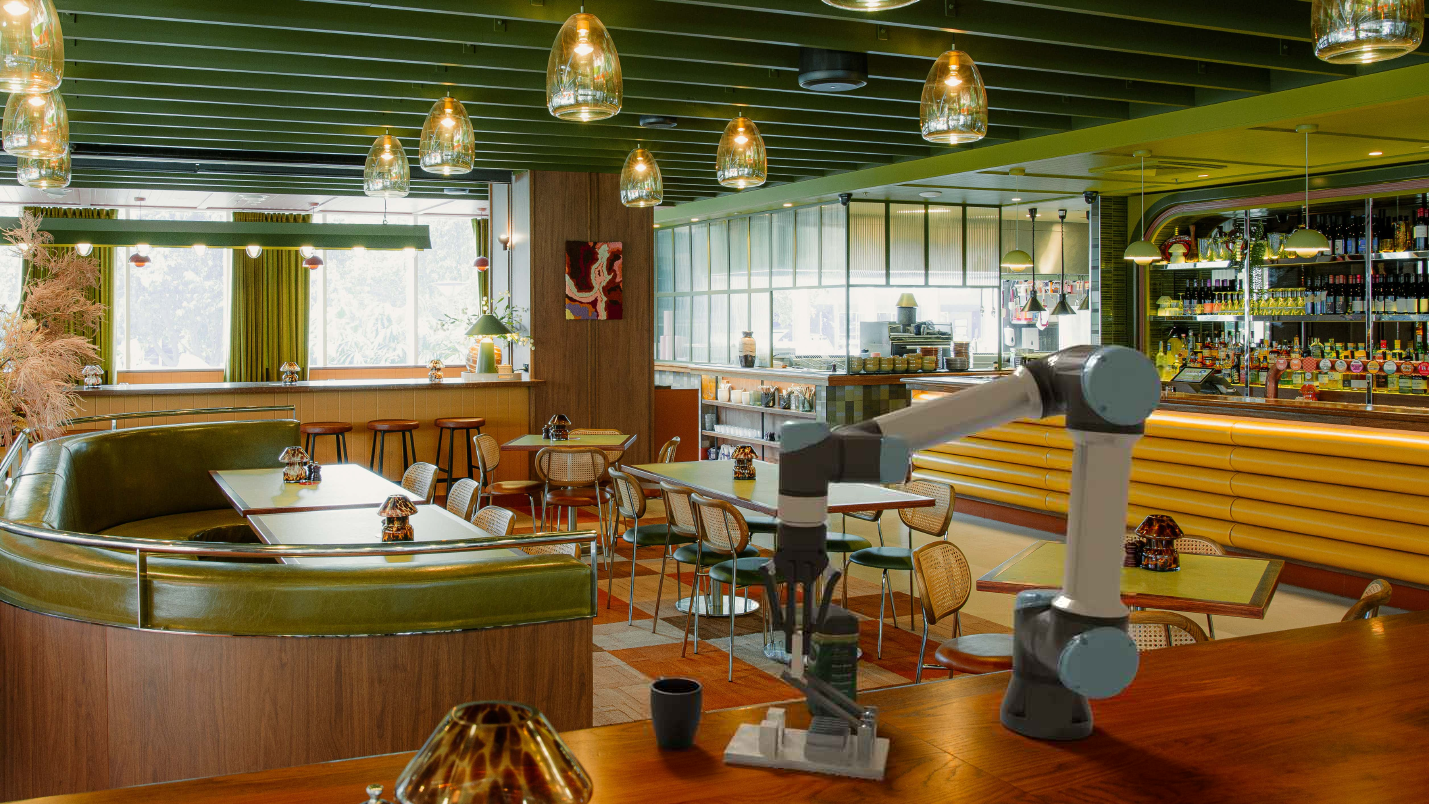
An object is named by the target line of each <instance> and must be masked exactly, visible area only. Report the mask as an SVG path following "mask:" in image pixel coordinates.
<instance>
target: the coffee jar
mask: <svg viewBox="0 0 1429 804" xmlns="http://www.w3.org/2000/svg"><path fill="white" fill-rule="evenodd" d="M820 605H821V604H816V605H815V606H813V623H815V622H816V619H817V616H818V612H819V609H820ZM859 622H860V620H859V617H858V616H856V615H855V614H854V613H852V612H851V611H849V610H847V609H846V608H843V607H841V606H839V605H838V604H833V603H832V604H830V606H829V610H828V613H827V617H826V621H825V624H824V627H823V629H822V630H821V632H815V633H813V634H812V643H811V652H810V654H809V656H808V659H807V660H808V661H807V670H808V671H810V672H811V673H813V674H814V675H816V676H817V677H819V678H820V679H822V680H823V681H825V682H826V683H827V684H829V685H830V686H832V687H833V688H835V689H836V690H838V691H839V692H841V693H842V694H844V695H845V696H847V697H848V698H850V699H851V700H853V701H854V702H856V703H857V702H858V701H857V700H858V699H857V698H858V695H857V694H858V693H857V692H858V688H857V687H858V680H857V679H858V647H859V646H858V645H859V637H860V623H859ZM806 685H808V686H809V687H810V688H812V689H813V690H815V691H816V692H818V693H819V694H821V695H822V696H824V697H825V698H827V699H828V700H830V701H831V702H833V703H834V704H836V705H837V706H838V707H840V708H841V709H843V710H844V711H846V712H847V713H849V714H850V715H852V716H853V717H855V718H856V715H857V713H855V712H854V711H852V710H851V709H849V708H848V707H846V706H845V705H843V704H842V703H840V702H839V701H837V700H836V699H835V698H833V697H832V696H830V695H829V694H827V693H826V692H824V691H823V690H821V689H820V688H818V687H817V686H815V685H814V684H812V683H811V682H809V681H808V680H807V679H806ZM805 696H806V695H805ZM857 704H858V703H857ZM805 705H806V708H807V709H808V711H809V712H810V713H811V714H812V715H813V717H814V716H817V717H827V718H837V719H840V718H839V717H837V716H836V715H834V714H833V713H831V712H830V711H828V710H827V709H826V708H824V707H823V706H821V705H820V704H818V703H817V702H815V701H814V700H812V699H811V698H809V697H808V696H806V697H805Z"/></svg>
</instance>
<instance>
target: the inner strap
mask: <svg viewBox="0 0 1429 804" xmlns="http://www.w3.org/2000/svg"><path fill="white" fill-rule="evenodd" d="M785 666H786V667H787V668H789V669H790V670H791V668H792V658H789V660H788V662H787V664H786V665H785ZM801 678H804V679H805V680H806V681H807V680H808V681H809V682H811V683H812V684H814V685H815V686H817V687H818V688H820V689H821V690H823V691H824V692H826V693H827V694H829V695H830V696H832V697H833V698H835V699H836V700H837V701H839V702H840V703H842V704H843V705H845V706H846V707H848V708H849V709H851V710H852V711H854V712H855V713H856V715H858V716H859V717H861V718H862V713H866V714H875V712H874V711H873V710H871V709H868V710H866V709H864V706H861V704H859V703H856V702H854V701H853V700H851V699H850V698H848V697H847V696H845V695H844V694H842V693H841V692H839V691H838V690H836V689H835V688H833V687H832V686H830V685H829V684H827V683H826V682H825V681H823V680H822V679H820V678H819V677H817V676H816V675H814V674H813V673H811V672H810V671H808V668H805V667H804V673H803V675H802V677H801Z"/></svg>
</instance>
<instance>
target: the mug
mask: <svg viewBox="0 0 1429 804" xmlns="http://www.w3.org/2000/svg"><path fill="white" fill-rule="evenodd" d="M649 695H650V699H649V701H650V703H649V704H650V705H649V706H650V716H651V721H652V726H653V730H654V734H655V737H656V742H657V746H658V747H659V748H660V749H662V750H666V751H672V752H679V751H685V750H689V749H690V748H692V747H693V745H694V741H695V738H696V735H697V732H698V729H699V724H700V720H701V715H702V708H703V685H702V683H701V682H700V681H697V680H696V679H690V678H685V677H667V676H665V675H659V676H658V677H657V680H655V681H653V682H652V683H651V684H650V694H649Z"/></svg>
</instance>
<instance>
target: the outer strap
mask: <svg viewBox="0 0 1429 804" xmlns="http://www.w3.org/2000/svg"><path fill="white" fill-rule="evenodd" d="M779 678H780V679H781V680H783V681H785V682H786V683H787V684H789V685H790V686H792V687H793V688H795V689H796V690H798V691H799V692H801V693H802V694H803V695H805V696H808V697H809V698H811V699H812V700H814V701H815V702H817V703H818V704H820V705H821V706H823V707H824V708H826V709H827V710H828V711H830V712H831V713H833V714H834V715H836V716H837V717H839V718H840V719H842V720H843V721H845V722H846V723H848V724H849V727H852V728H854V730H856V731H858V727H867V728H871V729H872V727H871V725H870V724H869V723H867V722H865V723H862V722H861V721H860V719H858V718H856V716H855V717H853V716H852V715H850V714H849V713H847V712H846V711H844V710H843V709H841V708H840V707H838V706H837V705H836V704H834V703H833V702H831V701H830V700H828V699H827V698H825V697H824V696H822V695H821V694H819V693H818V692H816V691H815V690H813V689H812V688H810V687H809V686H808V685H807V683H804V682H803V681H802V680H800V678H793V677H791V673H790V672H789V671H786V670H785V669H783V670H782V672H781V673H780V675H779Z"/></svg>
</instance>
